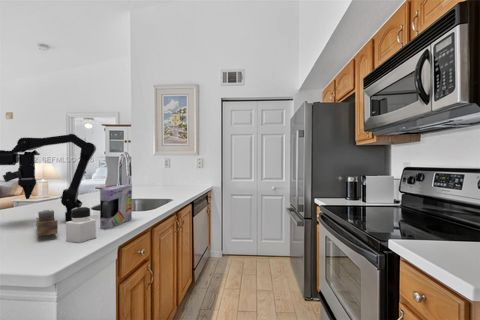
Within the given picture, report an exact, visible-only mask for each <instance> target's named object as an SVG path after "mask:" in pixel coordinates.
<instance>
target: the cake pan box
mask: <svg viewBox="0 0 480 320" xmlns="http://www.w3.org/2000/svg"><path fill="white" fill-rule="evenodd" d="M132 191H133V185H132V184H121V185H113V186H109V187H105V188H104V187H103V188H100V190H99V196H100V197H99V199H100V200H99V205H100V206H99V207H100V208H99V216H100V217H99V226H100V227H99V228H100V229H103V230H109V229H110V230H111V229H113V228H115V227H117V226H119V225H122V224H124V223H126V222H128V221H130V220H132V218H133V217H132V213H133V211H132V207H133V204H132V202H133V201H132V200H133V197H132V196H133V192H132Z"/></svg>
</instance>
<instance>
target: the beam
mask: <svg viewBox="0 0 480 320" xmlns="http://www.w3.org/2000/svg"><path fill="white" fill-rule="evenodd" d="M35 221H36V223H35V224H36V231H37V236H38V237H41V236H42V235H43V236H49V235H55V234H58V222H59V221H58V219H55V218H54V221H47V222H39V217H36V219H35Z"/></svg>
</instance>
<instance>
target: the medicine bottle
mask: <svg viewBox="0 0 480 320" xmlns="http://www.w3.org/2000/svg"><path fill="white" fill-rule="evenodd" d="M72 220H73V221H69V222H66V221H65V241H66V242H70V243H77V242H78V243H80V244H81V243H84V242H86V241H87V242H88V241H90V240H93V239H96V238H97V229H96V228H97V227H96V226H97V224H96V222H97V221H96V219H93V218H91V208H90V207H88V206H81V207H79V208H75V209H73V210H72Z"/></svg>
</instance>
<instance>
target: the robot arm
mask: <svg viewBox="0 0 480 320" xmlns="http://www.w3.org/2000/svg"><path fill="white" fill-rule="evenodd" d="M67 143H69V144H70V143H72V144H73V145H75V146H77V147H78V148H80V154H79V156H80V157H79V161H78V163H77V165H76V166H77V167H76V169H75V172H74V174H73V177H72V179H71V181H70V184H69V187H68V188H65V189H63V190H62V195H61V196H60V199H61V200H60V203H61V204H62V205H63V206H64V207H65V208H66V211H64V220H65V223H66V222H69V221H73V220H72V210H73V209H75V208H79V207H83V206H82V205H83V202H82V201H81V200H80V199H78V198H79V189H80V186H81V183H82V181H83V177H84V175H85V174H86V173H85V172H86V171H87V168H88V165H89V162H90V161H91V159H92V158H93V156H94V154H95V153H96V150H97V147H96V145H95V144H94V143H92V142H88V141H86V140H84V139H83V138H80V137H79V136H78V135H77V134H74V133H69V134H63V135H62V134H61V135H54V136H48V137H47V136H46V137H20V138H19V139H18V140H17V142H16V145H15V146H14V147H13V148H12V150H5V149H4V150H2V149H0V166H16V164H18V165H19V166H18V168H17V170H16V171H13V172H12V171H7V172H5V174H3V175H2V177H3V179H4V182H5V183H7V182H11V181H12V180H16V179H18V180H17V182H18V183H17V185H18V186H19V187H20V188H22V189H23V193H24V197H25V199H26V200H29V199H30V197H31V195H32V192H33V191H34V188H35V187H36V185H37V179H36V166H35V165H36V159H35V158H36V156H40V155H41V154H40V152H38V151H37V149H39V148H42V147H45V146H46V147H47V146H53V145H61V144H67Z"/></svg>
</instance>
